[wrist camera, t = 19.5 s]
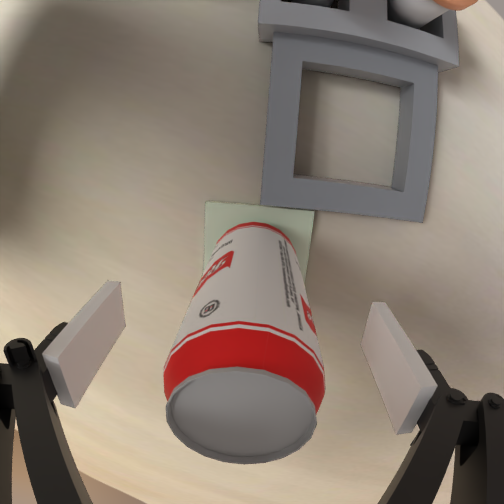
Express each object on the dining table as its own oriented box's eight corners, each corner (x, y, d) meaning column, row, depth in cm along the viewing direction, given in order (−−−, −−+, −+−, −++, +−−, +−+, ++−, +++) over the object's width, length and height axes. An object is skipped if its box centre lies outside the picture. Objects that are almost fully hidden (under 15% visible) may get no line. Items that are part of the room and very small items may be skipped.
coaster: (204, 296, 27) (203, 299, 26) (206, 200, 24) (205, 202, 23) (300, 304, 27) (300, 307, 26) (313, 209, 24) (314, 211, 23)
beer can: (205, 282, 26) (143, 448, 10) (225, 207, 23) (159, 328, 8) (280, 303, 26) (293, 479, 11) (307, 232, 24) (367, 379, 9)
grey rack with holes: (247, 197, 24) (243, 208, 20) (265, -31, 17) (265, -56, 14) (419, 216, 24) (442, 229, 20) (431, 4, 17) (452, -12, 13)
